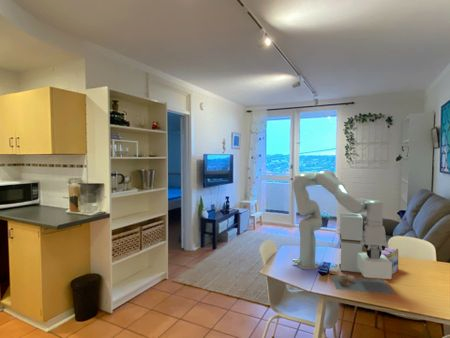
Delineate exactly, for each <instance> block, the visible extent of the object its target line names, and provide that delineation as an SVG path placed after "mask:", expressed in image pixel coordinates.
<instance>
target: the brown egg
mask: <svg viewBox="0 0 450 338" xmlns="http://www.w3.org/2000/svg"><path fill="white" fill-rule="evenodd" d="M346 276H347V277H348V278H349V283H354V278H356V277H355V276H354V275H352V274H348V275H346Z"/></svg>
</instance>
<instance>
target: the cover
mask: <svg viewBox="0 0 450 338" xmlns="http://www.w3.org/2000/svg"><path fill="white" fill-rule="evenodd" d="M370 250H371V257H370V258H369V257H368V255H367V252H362V253H358V258H357V268H358V269H359V270H360V272H361V273H362V274H361V276H363V277H364V278H369V279H381V278H382V279H383V280H384V279H385V280H386V279H387V280H392V279H393V278H392V276H393V274H392V263H391V262H390V261H389V260H388V259H387V258H386V257H385V256H384V255H383V254H381V256H380V258H379V249H378V246H377V247H376V246H373V247H372V246H370Z"/></svg>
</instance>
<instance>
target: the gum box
mask: <svg viewBox="0 0 450 338" xmlns="http://www.w3.org/2000/svg"><path fill="white" fill-rule="evenodd" d="M381 254H383V255H384V256H385V257H386V258H387V259H388V260H389V261H390V262H391V263H392V275H394V274H395V273H397V272H398V271H399V248H396V249H395V248H392V247H389V246H387V247H385V248H384V249H382V251H381ZM382 279H383V278H380V280H382Z"/></svg>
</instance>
